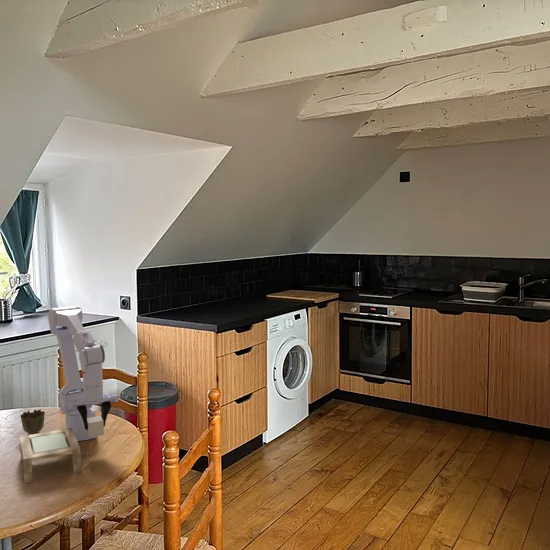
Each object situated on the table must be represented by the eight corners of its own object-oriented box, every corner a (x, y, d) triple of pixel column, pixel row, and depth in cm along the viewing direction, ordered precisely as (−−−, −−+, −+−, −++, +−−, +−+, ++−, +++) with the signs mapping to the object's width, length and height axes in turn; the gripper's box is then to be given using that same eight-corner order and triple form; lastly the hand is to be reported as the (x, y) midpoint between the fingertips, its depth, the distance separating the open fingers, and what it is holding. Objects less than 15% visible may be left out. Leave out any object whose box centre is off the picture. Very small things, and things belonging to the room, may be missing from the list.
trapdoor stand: (72, 449, 180) (71, 427, 179) (81, 471, 164) (80, 448, 164) (20, 458, 173) (19, 436, 173) (24, 483, 157) (23, 459, 157)
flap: (64, 442, 176) (64, 432, 176) (70, 457, 165) (69, 446, 165) (31, 448, 172) (31, 438, 171) (34, 463, 161) (34, 453, 161)
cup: (22, 442, 186) (21, 418, 185) (21, 434, 192) (19, 411, 191) (46, 438, 189) (45, 414, 188) (44, 430, 196) (43, 408, 195)
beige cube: (101, 429, 179) (100, 415, 178) (103, 434, 175) (103, 420, 174) (86, 432, 177) (85, 418, 176) (88, 437, 173) (88, 423, 172)
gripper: (70, 391, 167) (72, 435, 169) (119, 384, 174) (121, 427, 176) (66, 385, 174) (68, 427, 175) (114, 378, 180) (116, 419, 182)
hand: (94, 427), depth 176 cm, fingers closed on beige cube, 4 cm apart
